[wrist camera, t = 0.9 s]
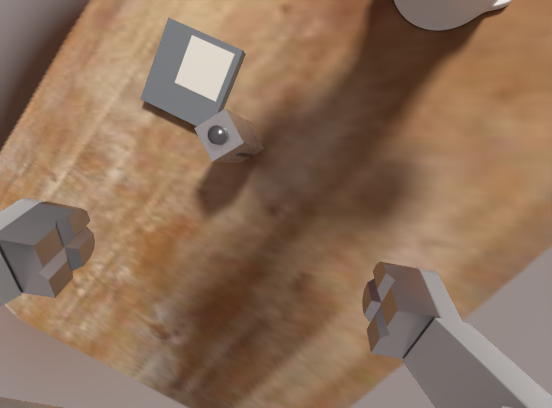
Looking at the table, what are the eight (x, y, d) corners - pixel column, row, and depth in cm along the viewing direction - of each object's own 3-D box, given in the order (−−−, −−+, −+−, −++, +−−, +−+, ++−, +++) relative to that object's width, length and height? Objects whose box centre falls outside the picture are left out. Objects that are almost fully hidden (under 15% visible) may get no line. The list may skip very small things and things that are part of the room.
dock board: (173, 22, 50) (168, 17, 48) (245, 54, 48) (242, 50, 47) (145, 100, 53) (140, 98, 51) (213, 133, 51) (209, 132, 49)
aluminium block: (250, 121, 49) (222, 106, 37) (265, 149, 50) (242, 143, 37) (226, 136, 51) (191, 126, 38) (240, 163, 51) (210, 162, 38)
